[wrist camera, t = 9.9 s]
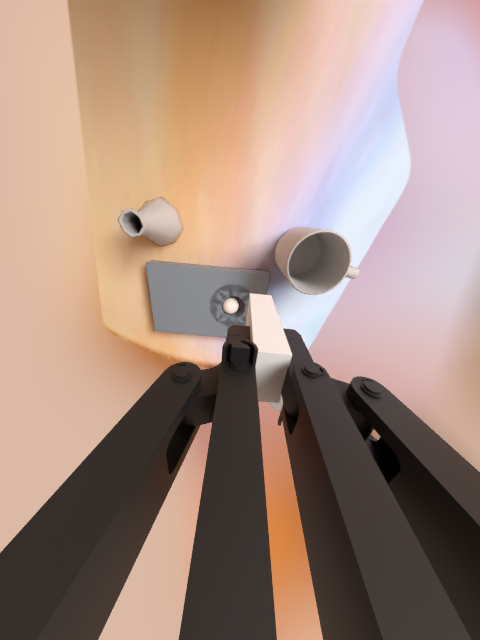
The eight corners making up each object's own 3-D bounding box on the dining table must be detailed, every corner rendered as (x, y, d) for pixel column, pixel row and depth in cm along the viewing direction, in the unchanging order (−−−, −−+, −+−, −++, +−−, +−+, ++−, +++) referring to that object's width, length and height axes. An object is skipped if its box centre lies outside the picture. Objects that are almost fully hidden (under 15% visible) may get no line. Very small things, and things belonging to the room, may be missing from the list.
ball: (221, 295, 38) (223, 301, 36) (237, 294, 39) (240, 300, 36) (221, 309, 40) (223, 316, 37) (236, 309, 40) (239, 315, 38)
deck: (151, 260, 36) (145, 263, 34) (268, 271, 36) (269, 274, 34) (159, 325, 42) (154, 331, 40) (258, 333, 43) (259, 340, 41)
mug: (267, 269, 36) (276, 287, 26) (284, 220, 32) (301, 219, 23) (326, 285, 37) (355, 308, 28) (348, 239, 34) (391, 247, 24)
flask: (162, 187, 31) (129, 174, 22) (191, 230, 33) (172, 233, 24) (131, 215, 33) (89, 213, 24) (160, 253, 35) (132, 264, 26)
